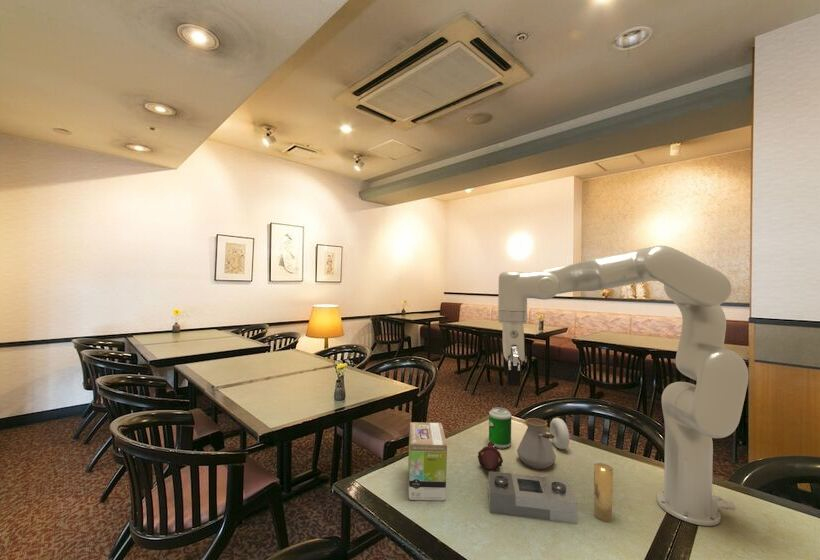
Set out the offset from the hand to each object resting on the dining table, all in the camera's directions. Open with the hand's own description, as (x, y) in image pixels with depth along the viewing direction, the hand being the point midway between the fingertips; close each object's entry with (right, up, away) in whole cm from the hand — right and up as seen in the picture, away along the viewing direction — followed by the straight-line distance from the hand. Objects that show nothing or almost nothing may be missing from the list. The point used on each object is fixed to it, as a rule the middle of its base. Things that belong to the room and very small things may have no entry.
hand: (511, 380), depth 97 cm
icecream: (-3, -30, +11) cm, 33 cm away
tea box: (-23, -30, +3) cm, 38 cm away
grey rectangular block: (+3, -30, -6) cm, 31 cm away
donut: (+24, -31, +26) cm, 47 cm away
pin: (+19, -30, -10) cm, 37 cm away
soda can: (+4, -30, +27) cm, 41 cm away
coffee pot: (+12, -31, +11) cm, 34 cm away
